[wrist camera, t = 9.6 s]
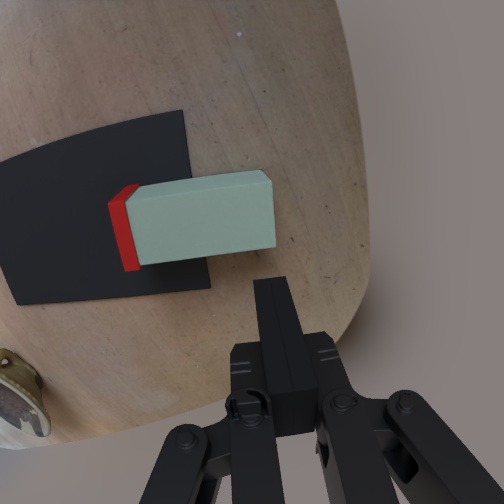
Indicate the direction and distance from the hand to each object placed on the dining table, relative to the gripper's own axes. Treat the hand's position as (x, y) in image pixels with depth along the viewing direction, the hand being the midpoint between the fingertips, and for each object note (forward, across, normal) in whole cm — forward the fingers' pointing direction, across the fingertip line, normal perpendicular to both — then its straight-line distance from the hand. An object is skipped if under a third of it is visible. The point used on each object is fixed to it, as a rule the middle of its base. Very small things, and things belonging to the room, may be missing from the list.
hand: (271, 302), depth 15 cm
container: (+16, +2, 0) cm, 16 cm away
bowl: (+19, -44, -25) cm, 54 cm away
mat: (+19, -21, 0) cm, 28 cm away
